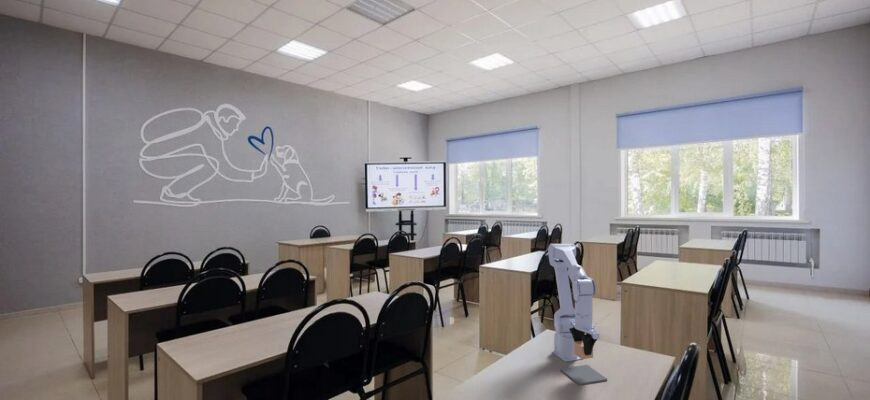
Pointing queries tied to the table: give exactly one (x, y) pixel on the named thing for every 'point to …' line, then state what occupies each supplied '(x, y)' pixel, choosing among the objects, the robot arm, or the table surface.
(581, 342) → the cube
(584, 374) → the mat
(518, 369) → the table surface
